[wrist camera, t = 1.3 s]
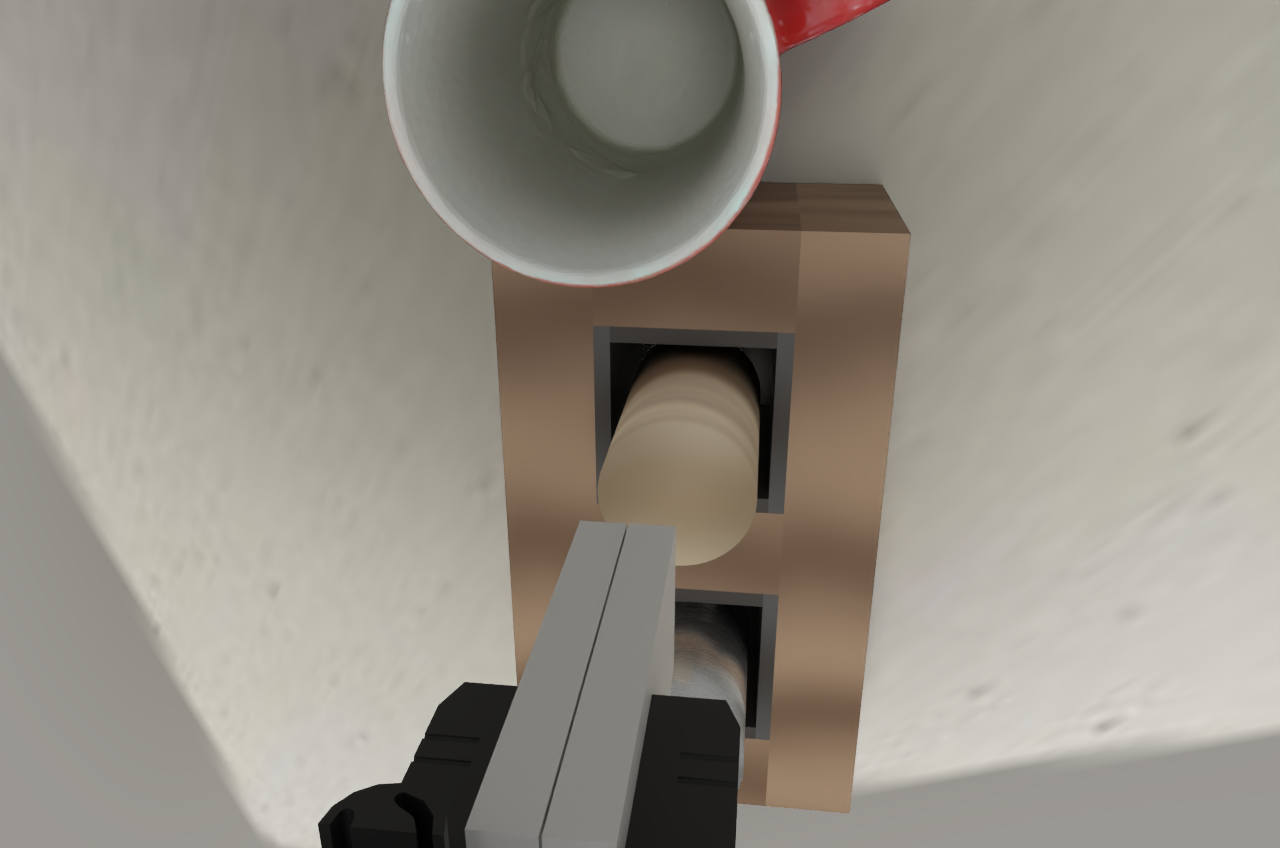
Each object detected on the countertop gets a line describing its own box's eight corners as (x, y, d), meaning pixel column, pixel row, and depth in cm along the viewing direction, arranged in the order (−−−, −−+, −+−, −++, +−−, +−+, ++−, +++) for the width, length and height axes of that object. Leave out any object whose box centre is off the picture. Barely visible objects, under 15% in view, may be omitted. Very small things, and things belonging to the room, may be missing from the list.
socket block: (546, 178, 36) (489, 223, 29) (882, 184, 35) (910, 233, 28) (564, 655, 45) (523, 784, 37) (836, 675, 43) (849, 813, 36)
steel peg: (634, 568, 36) (601, 703, 29) (751, 576, 35) (746, 714, 29) (634, 665, 38) (604, 813, 31) (746, 673, 37) (740, 826, 30)
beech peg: (633, 330, 32) (595, 419, 26) (763, 334, 32) (760, 426, 25) (633, 447, 34) (598, 561, 27) (757, 453, 34) (753, 570, 27)
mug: (574, 224, 37) (475, 336, 25) (478, -29, 34) (310, -44, 22) (915, 106, 34) (996, 167, 22) (843, -182, 31) (889, -302, 19)
